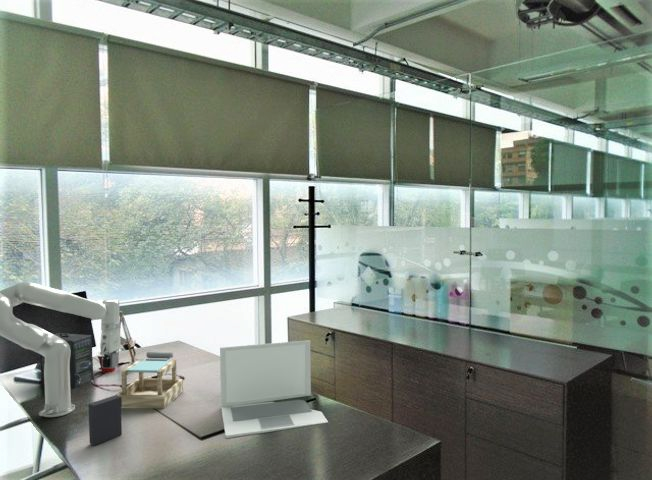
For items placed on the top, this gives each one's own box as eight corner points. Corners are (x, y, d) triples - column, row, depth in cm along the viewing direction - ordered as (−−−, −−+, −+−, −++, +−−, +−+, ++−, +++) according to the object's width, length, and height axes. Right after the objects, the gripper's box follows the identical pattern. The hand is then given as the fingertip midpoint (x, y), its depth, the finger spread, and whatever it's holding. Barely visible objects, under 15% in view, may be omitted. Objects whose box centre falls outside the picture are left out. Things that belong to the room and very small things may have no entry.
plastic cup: (92, 374, 248) (91, 352, 247) (111, 369, 257) (110, 347, 257) (104, 378, 242) (103, 355, 242) (123, 372, 251) (122, 350, 251)
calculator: (116, 432, 181) (115, 394, 180) (122, 435, 178) (121, 396, 178) (88, 443, 172) (87, 403, 172) (94, 446, 170) (93, 406, 169)
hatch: (158, 372, 205) (157, 363, 205) (127, 372, 206) (127, 363, 206) (175, 359, 224) (175, 351, 224) (147, 359, 225) (146, 350, 225)
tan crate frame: (164, 410, 201) (163, 373, 201) (114, 409, 203) (113, 372, 202) (183, 391, 223) (182, 358, 223) (138, 390, 225) (137, 357, 224)
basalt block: (112, 368, 213) (112, 355, 212) (101, 368, 213) (101, 355, 213) (118, 365, 217) (118, 352, 217) (107, 364, 218) (107, 352, 218)
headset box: (40, 384, 234) (38, 333, 233) (60, 377, 245) (59, 328, 244) (75, 389, 226) (73, 337, 225) (94, 381, 238) (92, 331, 237)
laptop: (225, 440, 174) (224, 367, 173) (221, 409, 202) (219, 347, 201) (328, 426, 185) (327, 357, 184) (310, 399, 213) (309, 339, 212)
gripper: (108, 330, 206) (107, 371, 206) (127, 322, 223) (126, 360, 223) (91, 329, 207) (91, 370, 207) (112, 322, 224) (111, 360, 224)
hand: (109, 365), depth 215 cm, fingers closed on basalt block, 5 cm apart
